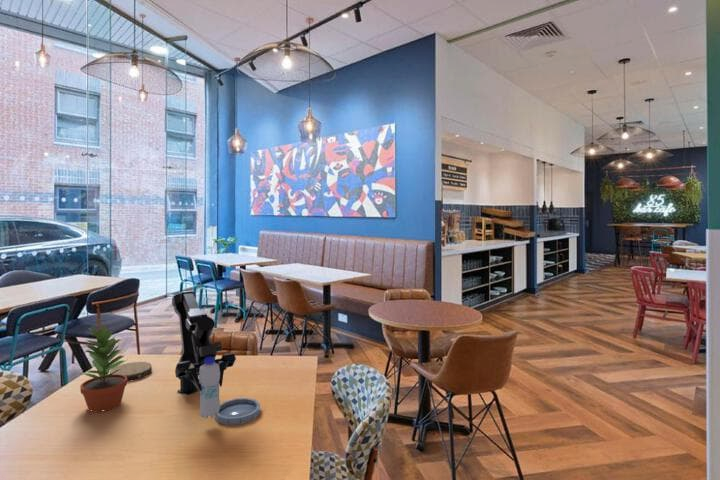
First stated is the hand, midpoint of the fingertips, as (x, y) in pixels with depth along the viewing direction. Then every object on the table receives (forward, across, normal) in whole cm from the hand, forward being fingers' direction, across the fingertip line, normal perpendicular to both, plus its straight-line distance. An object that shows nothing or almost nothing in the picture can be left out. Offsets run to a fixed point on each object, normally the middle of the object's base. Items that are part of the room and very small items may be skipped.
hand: (210, 388), depth 130 cm
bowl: (+6, +10, +12) cm, 17 cm away
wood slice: (-36, -18, +56) cm, 69 cm away
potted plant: (-17, -28, +36) cm, 49 cm away
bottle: (+6, 0, +8) cm, 10 cm away
